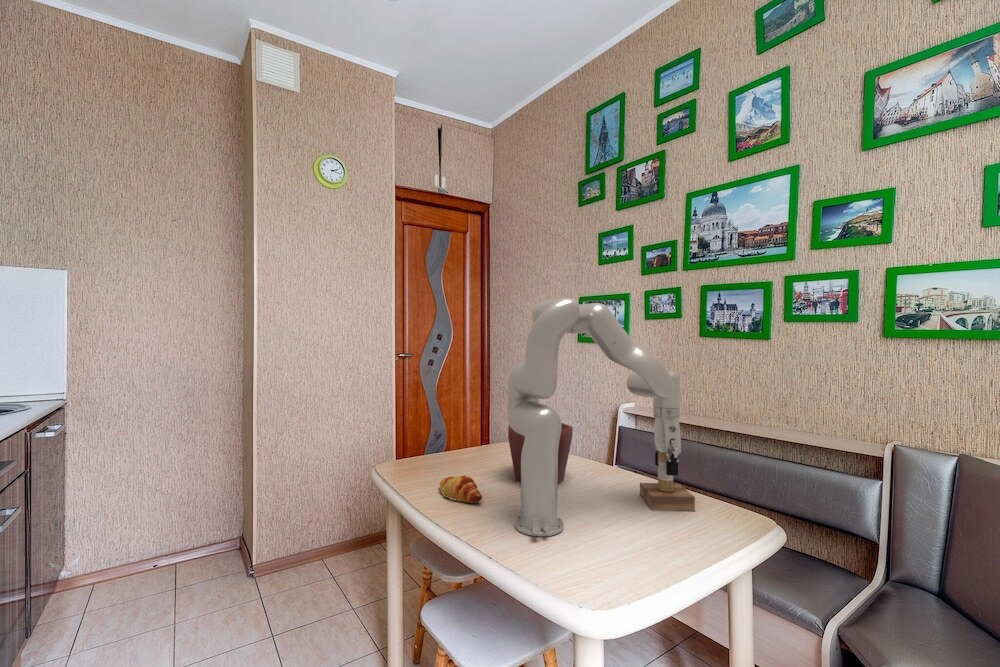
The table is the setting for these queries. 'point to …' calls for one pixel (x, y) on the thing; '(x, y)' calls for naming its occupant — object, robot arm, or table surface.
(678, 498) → the walnut plinth
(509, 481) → the table surface
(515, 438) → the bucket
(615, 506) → the table surface
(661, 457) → the sprinkles bottle
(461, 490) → the croissant
